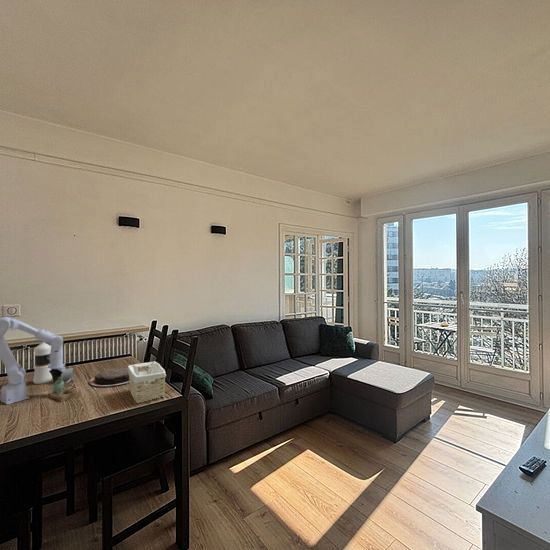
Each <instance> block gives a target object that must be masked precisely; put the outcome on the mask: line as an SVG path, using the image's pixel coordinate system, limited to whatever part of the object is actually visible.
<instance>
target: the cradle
mask: <svg viewBox="0 0 550 550" xmlns="http://www.w3.org/2000/svg"><path fill="white" fill-rule="evenodd" d="M81 396H82V391H81V390H74V389H71V388H67V389H65V394H63V395H61V394H54V393H50V394H49V398H51V399H54V400H56V401H59V402H60V403H62V402H65V401H69V400H72V399H75V398H78V397H81Z"/></svg>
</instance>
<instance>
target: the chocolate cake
mask: <svg viewBox="0 0 550 550" xmlns="http://www.w3.org/2000/svg"><path fill="white" fill-rule="evenodd" d="M127 383H128V384H129V373H128V367H126V368H125V367H122V368H121V367H117V368H116V367H114V368H109V369H106V370H102V371H100V372H98V373H97V374H95V375H94V376H93V377H92V378H91V379H90V380H89V385H91V386H92V387H102V388H111V387H112V388H113V387H114V388H115V387H120V386H122V385H128V384H127Z"/></svg>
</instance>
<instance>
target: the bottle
mask: <svg viewBox="0 0 550 550" xmlns="http://www.w3.org/2000/svg"><path fill="white" fill-rule="evenodd" d="M62 380H63V377H61V376H60V377H58V378H57V381H55V382H54V381H53V388H52V393H51V394H53V393H54V394H57V395H61V394H62V392H63V388H64V385H65V384H64V381H62Z"/></svg>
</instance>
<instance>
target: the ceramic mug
mask: <svg viewBox="0 0 550 550" xmlns="http://www.w3.org/2000/svg"><path fill="white" fill-rule="evenodd" d="M61 377H63V380H62V381H64V385H67V384H68V383H70V382H72V381H74V380H75V370H74V367H70V368H65V371H63V372H62V374H61Z"/></svg>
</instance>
